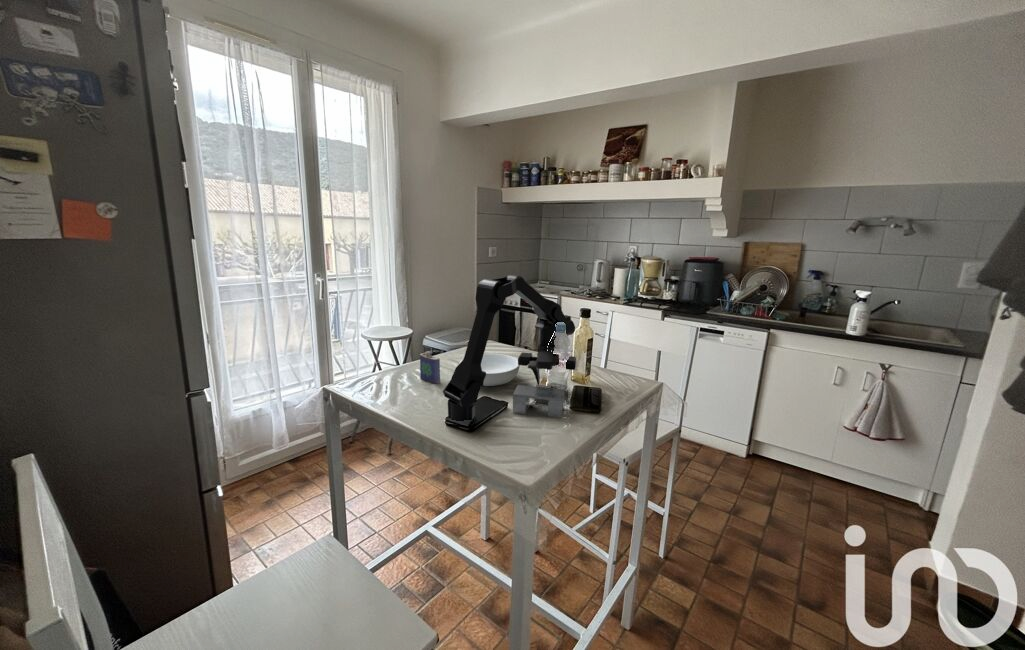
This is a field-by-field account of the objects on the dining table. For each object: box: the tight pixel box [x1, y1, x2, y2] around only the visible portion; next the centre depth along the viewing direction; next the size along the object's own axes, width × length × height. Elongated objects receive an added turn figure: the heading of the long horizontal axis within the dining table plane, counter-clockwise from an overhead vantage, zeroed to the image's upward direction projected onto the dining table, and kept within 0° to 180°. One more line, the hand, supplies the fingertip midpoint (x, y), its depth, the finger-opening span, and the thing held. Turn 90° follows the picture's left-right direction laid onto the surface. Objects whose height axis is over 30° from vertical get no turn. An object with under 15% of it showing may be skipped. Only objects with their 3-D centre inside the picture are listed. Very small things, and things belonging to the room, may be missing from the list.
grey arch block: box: [512, 384, 565, 419], centre depth 118 cm, size 14×7×6 cm, turn 78°
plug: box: [533, 375, 552, 404], centre depth 130 cm, size 4×14×4 cm, turn 168°
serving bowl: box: [458, 353, 521, 387], centre depth 140 cm, size 21×21×7 cm
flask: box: [419, 350, 441, 385], centre depth 139 cm, size 9×3×11 cm, turn 51°
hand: (546, 385), depth 135 cm, fingers open, 5 cm apart
